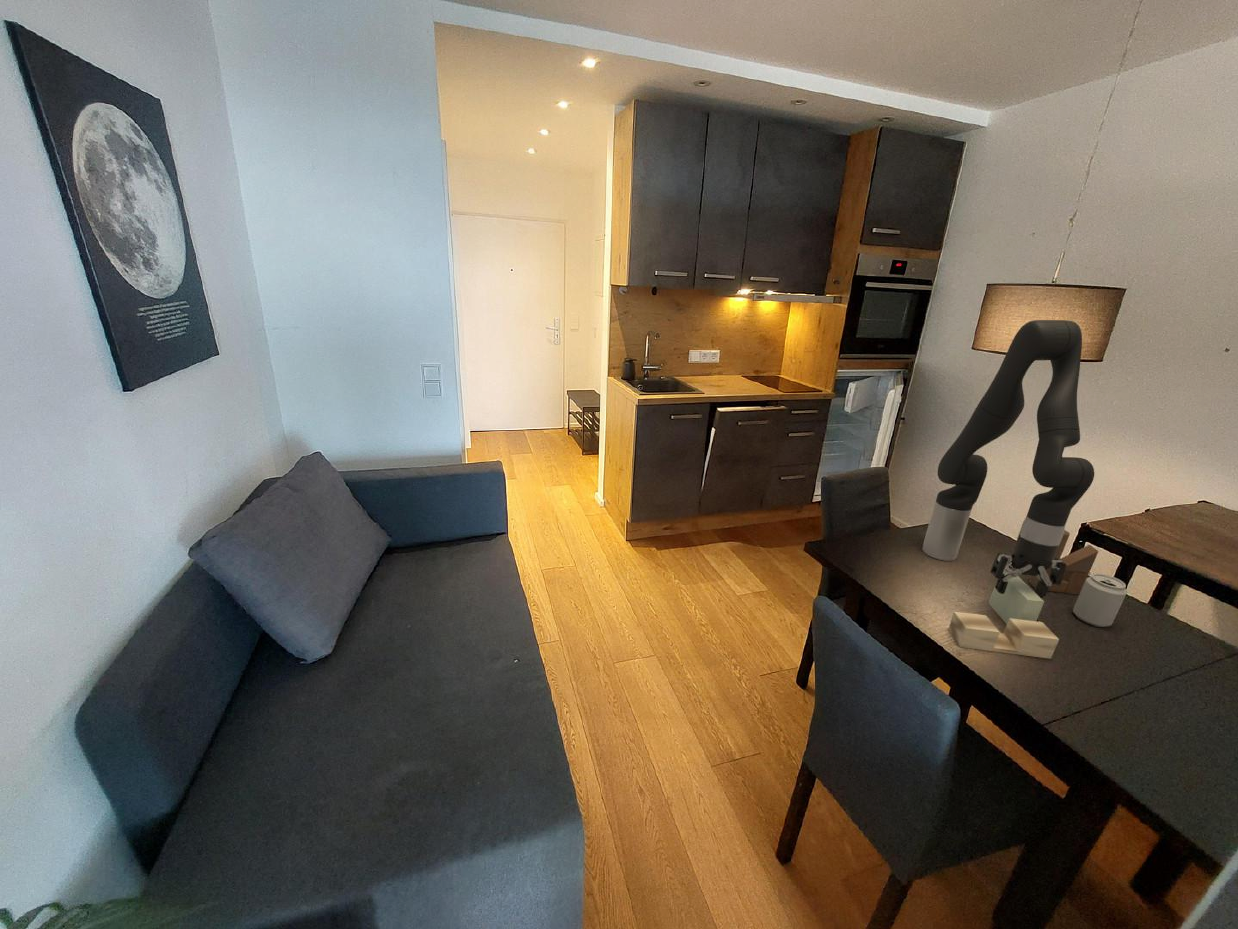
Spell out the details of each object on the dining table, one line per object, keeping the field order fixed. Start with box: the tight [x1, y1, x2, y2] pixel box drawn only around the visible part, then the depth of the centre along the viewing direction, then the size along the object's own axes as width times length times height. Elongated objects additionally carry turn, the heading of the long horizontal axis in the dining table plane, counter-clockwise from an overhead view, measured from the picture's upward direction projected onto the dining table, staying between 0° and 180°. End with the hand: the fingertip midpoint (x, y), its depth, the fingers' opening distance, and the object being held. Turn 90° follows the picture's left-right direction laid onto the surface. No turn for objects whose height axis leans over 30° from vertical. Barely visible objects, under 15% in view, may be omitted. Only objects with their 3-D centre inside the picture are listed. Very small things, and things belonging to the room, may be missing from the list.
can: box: [1072, 572, 1128, 628], centre depth 120 cm, size 8×8×12 cm
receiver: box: [947, 611, 1060, 659], centre depth 113 cm, size 6×19×6 cm, turn 80°
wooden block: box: [1028, 529, 1099, 596], centre depth 131 cm, size 4×11×18 cm, turn 77°
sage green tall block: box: [988, 574, 1045, 625], centre depth 121 cm, size 12×4×10 cm, turn 170°
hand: (1018, 594), depth 119 cm, fingers open, 8 cm apart
